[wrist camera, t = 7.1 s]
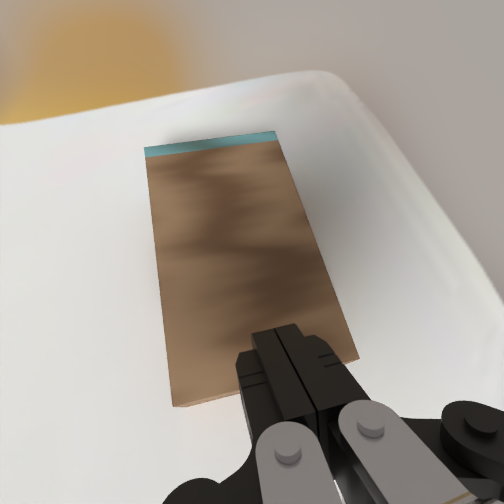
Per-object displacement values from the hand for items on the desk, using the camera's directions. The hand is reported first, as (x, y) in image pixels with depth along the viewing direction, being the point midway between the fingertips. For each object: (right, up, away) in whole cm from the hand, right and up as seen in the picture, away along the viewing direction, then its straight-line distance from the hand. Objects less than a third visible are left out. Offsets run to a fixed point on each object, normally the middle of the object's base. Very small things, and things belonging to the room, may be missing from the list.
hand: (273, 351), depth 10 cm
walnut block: (0, -3, +4) cm, 5 cm away
